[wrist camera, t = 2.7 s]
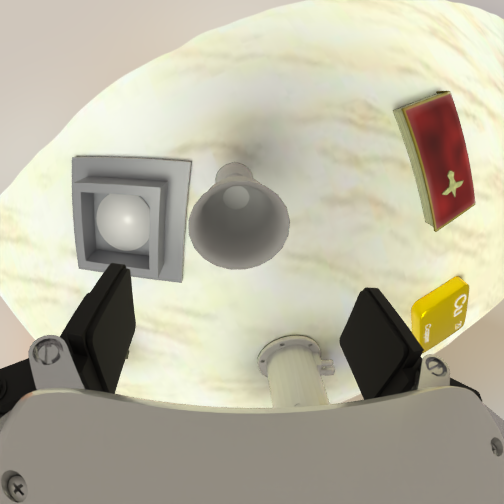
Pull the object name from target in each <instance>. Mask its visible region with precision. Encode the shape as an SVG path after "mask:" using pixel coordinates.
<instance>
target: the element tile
mask: <svg viewBox="0 0 504 504" xmlns="http://www.w3.org/2000/svg"><path fill="white" fill-rule="evenodd" d="M468 295H469V285H468V284H467V283H466V282H465V281H463V280H462V279H461V278H460V277H459V276H456V277H454V278H452V279H451V280H449V281H448V282H446V283H445V284H443V285H442V286H440V287H438V288H437V289H435V290H434V291H432V292H430V293H429V294H427V295H426V296H424V297H422V298H421V299H419V300H417V301H416V302H415V303H414V305H413V306H412V309H411V320H412V334H413V335H414V336H415V338H416V339H417V341H418V342H419V343H420V345H421V346H422V348H423V349H424V351H423V353H424V352H426V351H427V350H429V349H431V348H432V347H434V346H435V345H437V344H438V343H440V342H441V341H443V340H444V339H446V338H447V337H449V336H450V335H452V334H453V333H455V332H456V331H457V330H459V329H460V328H461V327H462V326H463V325H464V322H465V317H466V311H467V304H468Z"/></svg>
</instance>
